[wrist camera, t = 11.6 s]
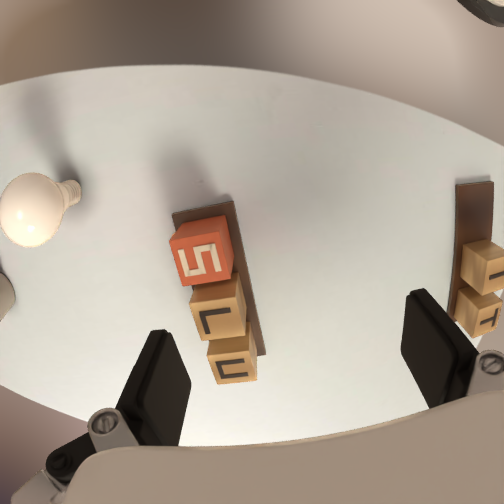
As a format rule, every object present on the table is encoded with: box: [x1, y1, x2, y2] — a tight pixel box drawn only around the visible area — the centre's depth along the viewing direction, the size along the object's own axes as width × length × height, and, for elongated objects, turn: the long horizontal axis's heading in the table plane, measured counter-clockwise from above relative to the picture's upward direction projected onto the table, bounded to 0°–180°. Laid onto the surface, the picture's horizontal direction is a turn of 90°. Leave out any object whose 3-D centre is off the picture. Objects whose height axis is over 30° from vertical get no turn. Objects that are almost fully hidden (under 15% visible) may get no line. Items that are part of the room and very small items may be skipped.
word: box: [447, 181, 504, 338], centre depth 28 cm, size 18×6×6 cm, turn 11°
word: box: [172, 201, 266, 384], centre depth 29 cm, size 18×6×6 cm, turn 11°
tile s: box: [169, 215, 234, 286], centre depth 27 cm, size 4×4×5 cm
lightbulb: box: [0, 173, 82, 247], centre depth 23 cm, size 6×6×11 cm
